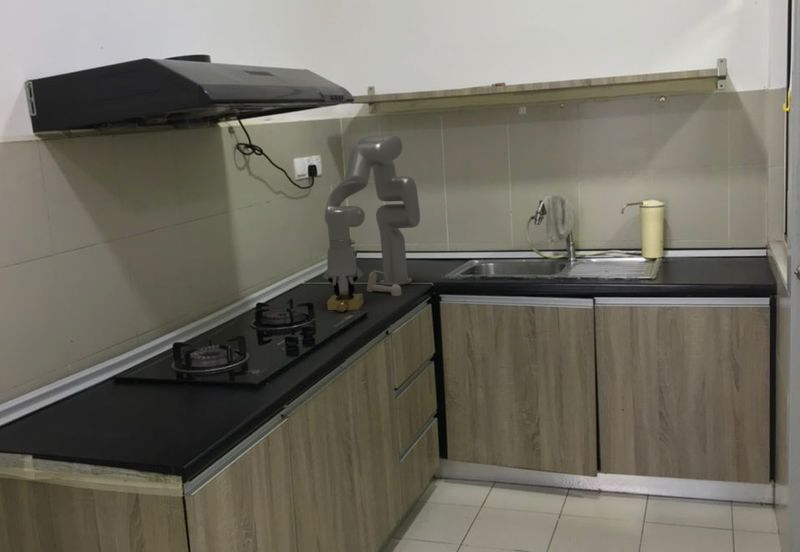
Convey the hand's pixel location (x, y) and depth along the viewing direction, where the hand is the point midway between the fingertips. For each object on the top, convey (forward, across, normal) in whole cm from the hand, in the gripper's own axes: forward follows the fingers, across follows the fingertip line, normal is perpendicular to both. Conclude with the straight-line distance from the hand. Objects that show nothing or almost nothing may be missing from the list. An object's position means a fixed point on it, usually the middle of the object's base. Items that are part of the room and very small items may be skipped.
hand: (344, 294), depth 302 cm
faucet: (+5, -11, -22) cm, 25 cm away
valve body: (+5, 0, 0) cm, 5 cm away
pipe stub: (+2, 0, 0) cm, 2 cm away
